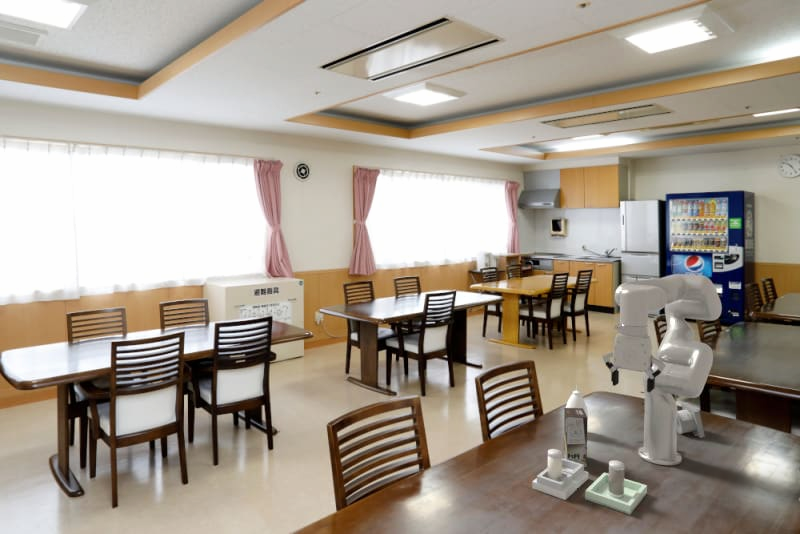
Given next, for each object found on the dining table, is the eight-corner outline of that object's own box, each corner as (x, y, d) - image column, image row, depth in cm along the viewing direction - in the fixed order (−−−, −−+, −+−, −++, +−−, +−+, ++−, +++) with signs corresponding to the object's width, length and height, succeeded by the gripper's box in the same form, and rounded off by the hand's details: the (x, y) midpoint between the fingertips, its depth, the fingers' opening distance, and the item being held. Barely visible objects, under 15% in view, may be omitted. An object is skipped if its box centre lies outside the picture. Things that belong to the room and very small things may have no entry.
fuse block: (556, 468, 160) (557, 434, 159) (588, 478, 154) (588, 443, 153) (532, 488, 148) (532, 451, 148) (565, 500, 142) (565, 461, 141)
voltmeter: (712, 434, 184) (713, 408, 183) (695, 442, 178) (696, 414, 177) (644, 412, 207) (645, 388, 206) (627, 418, 201) (627, 394, 200)
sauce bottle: (568, 426, 193) (569, 380, 192) (590, 431, 189) (590, 383, 187) (562, 433, 187) (562, 385, 186) (583, 438, 182) (584, 389, 181)
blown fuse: (611, 489, 146) (612, 459, 145) (626, 494, 143) (626, 463, 142) (606, 494, 143) (606, 464, 142) (620, 499, 140) (621, 468, 140)
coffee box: (587, 467, 160) (588, 417, 159) (566, 466, 162) (566, 416, 161) (583, 455, 169) (583, 407, 168) (562, 453, 171) (563, 406, 169)
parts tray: (604, 480, 152) (604, 472, 152) (646, 493, 144) (646, 485, 144) (585, 499, 142) (585, 490, 142) (629, 515, 134) (630, 505, 134)
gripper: (598, 328, 152) (598, 385, 153) (661, 336, 140) (660, 397, 141) (608, 325, 157) (607, 379, 158) (669, 332, 145) (668, 390, 147)
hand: (632, 387), depth 150 cm, fingers open, 9 cm apart
